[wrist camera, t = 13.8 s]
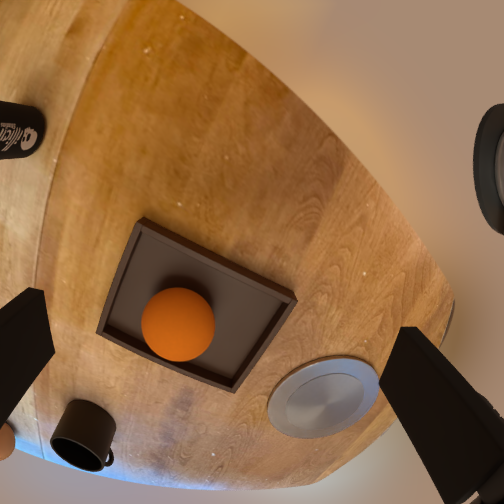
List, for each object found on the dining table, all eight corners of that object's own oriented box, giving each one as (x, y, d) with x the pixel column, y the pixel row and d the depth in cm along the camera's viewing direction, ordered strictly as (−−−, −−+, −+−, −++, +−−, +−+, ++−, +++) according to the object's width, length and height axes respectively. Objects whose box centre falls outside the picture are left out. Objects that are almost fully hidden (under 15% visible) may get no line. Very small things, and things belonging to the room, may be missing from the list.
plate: (393, 354, 41) (396, 358, 40) (355, 432, 46) (356, 435, 45) (280, 353, 39) (281, 356, 38) (257, 435, 44) (258, 439, 43)
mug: (101, 446, 44) (90, 481, 35) (58, 404, 40) (39, 439, 31) (136, 438, 43) (126, 478, 34) (90, 393, 39) (71, 433, 31)
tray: (294, 292, 36) (298, 301, 34) (233, 381, 40) (234, 394, 37) (142, 216, 32) (136, 221, 30) (102, 323, 36) (95, 333, 33)
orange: (227, 288, 34) (207, 308, 26) (218, 351, 35) (198, 383, 28) (162, 274, 35) (129, 289, 27) (158, 335, 36) (127, 361, 29)
